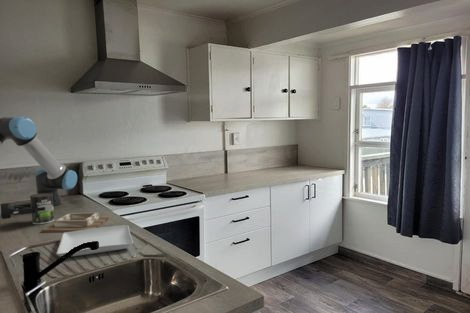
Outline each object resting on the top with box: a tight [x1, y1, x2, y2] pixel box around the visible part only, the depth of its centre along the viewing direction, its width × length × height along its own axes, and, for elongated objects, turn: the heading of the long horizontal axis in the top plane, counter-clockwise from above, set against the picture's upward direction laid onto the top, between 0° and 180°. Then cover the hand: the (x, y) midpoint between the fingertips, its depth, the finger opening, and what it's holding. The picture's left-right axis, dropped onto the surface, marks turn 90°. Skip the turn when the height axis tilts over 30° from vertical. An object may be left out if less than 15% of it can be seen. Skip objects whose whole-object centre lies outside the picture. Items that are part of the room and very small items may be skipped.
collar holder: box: [40, 211, 112, 233], centre depth 178 cm, size 24×24×4 cm
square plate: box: [55, 224, 134, 258], centre depth 148 cm, size 27×27×4 cm
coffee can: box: [29, 193, 55, 225], centre depth 185 cm, size 10×10×14 cm
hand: (51, 205), depth 187 cm, fingers closed on coffee can, 10 cm apart
